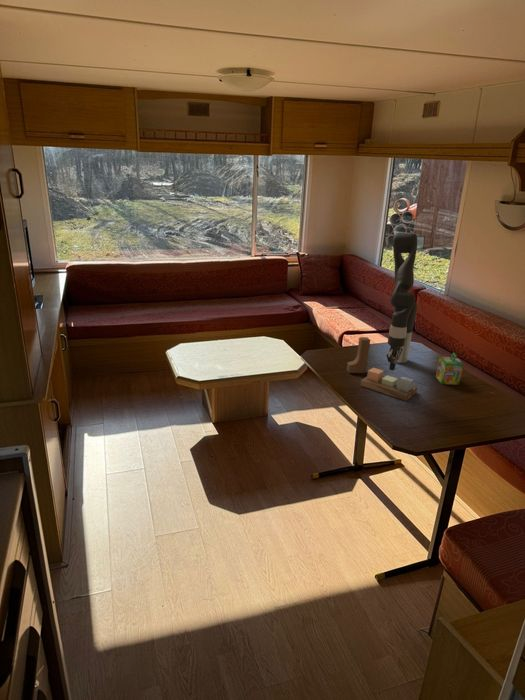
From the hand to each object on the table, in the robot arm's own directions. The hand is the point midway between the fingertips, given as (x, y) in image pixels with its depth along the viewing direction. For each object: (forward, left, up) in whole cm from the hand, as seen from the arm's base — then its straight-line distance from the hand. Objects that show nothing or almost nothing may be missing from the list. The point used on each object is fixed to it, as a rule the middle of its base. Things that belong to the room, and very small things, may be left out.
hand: (391, 369), depth 232 cm
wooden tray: (0, 0, -10) cm, 10 cm away
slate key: (0, +7, -8) cm, 11 cm away
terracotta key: (0, -8, -8) cm, 11 cm away
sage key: (0, 0, -10) cm, 10 cm away
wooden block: (-8, -22, -10) cm, 25 cm away
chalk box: (-31, +17, -10) cm, 37 cm away
